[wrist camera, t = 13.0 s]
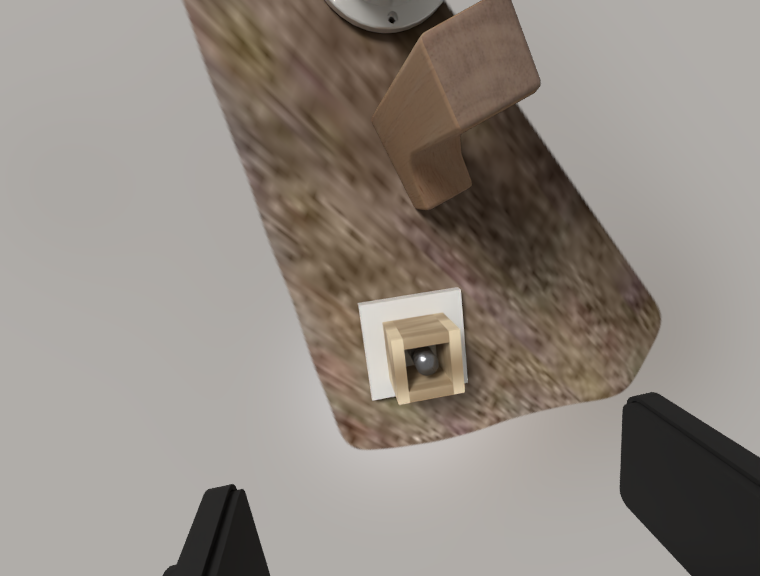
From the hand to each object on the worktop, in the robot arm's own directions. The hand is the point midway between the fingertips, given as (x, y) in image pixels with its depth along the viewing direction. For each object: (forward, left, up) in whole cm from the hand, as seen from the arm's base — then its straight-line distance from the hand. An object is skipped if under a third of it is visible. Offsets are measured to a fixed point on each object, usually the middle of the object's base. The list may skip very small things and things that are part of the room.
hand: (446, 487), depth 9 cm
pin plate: (+8, +5, -28) cm, 30 cm away
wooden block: (-10, +7, -29) cm, 31 cm away
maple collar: (+8, +5, -27) cm, 29 cm away
